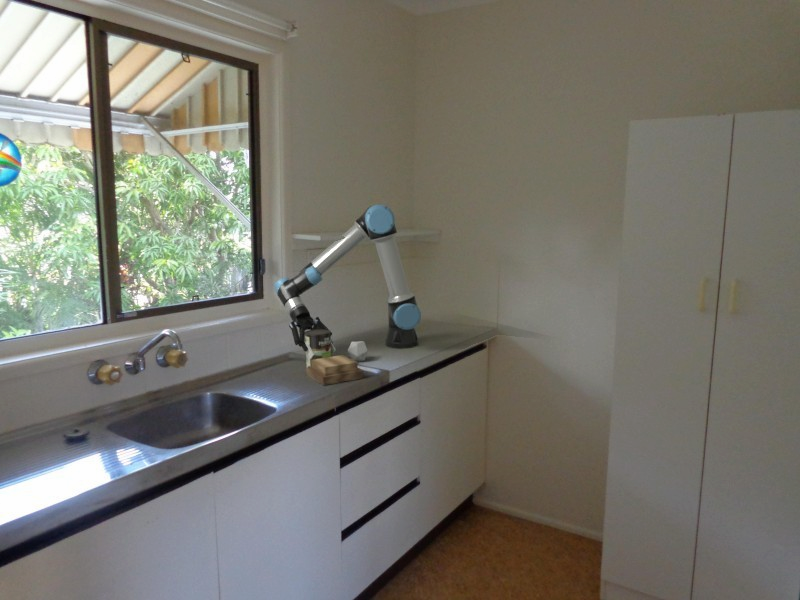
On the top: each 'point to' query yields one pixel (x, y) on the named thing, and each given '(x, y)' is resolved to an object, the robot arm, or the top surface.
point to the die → (357, 351)
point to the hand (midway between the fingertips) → (323, 354)
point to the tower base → (333, 377)
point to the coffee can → (318, 344)
